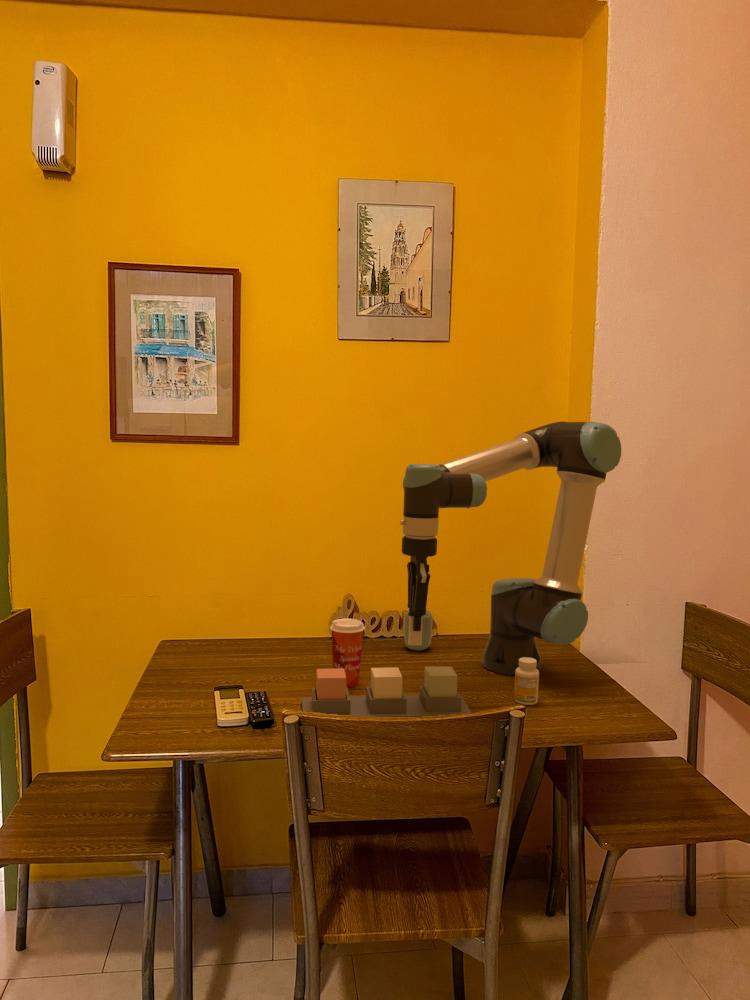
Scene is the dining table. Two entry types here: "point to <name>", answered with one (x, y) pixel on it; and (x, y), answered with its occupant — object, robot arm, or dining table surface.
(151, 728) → the dining table surface
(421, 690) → the grey socket tray
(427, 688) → the key sage
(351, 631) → the coffee cup
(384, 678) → the key cream
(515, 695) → the supplement bottle
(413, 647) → the cup
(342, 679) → the key terracotta
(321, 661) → the dining table surface
